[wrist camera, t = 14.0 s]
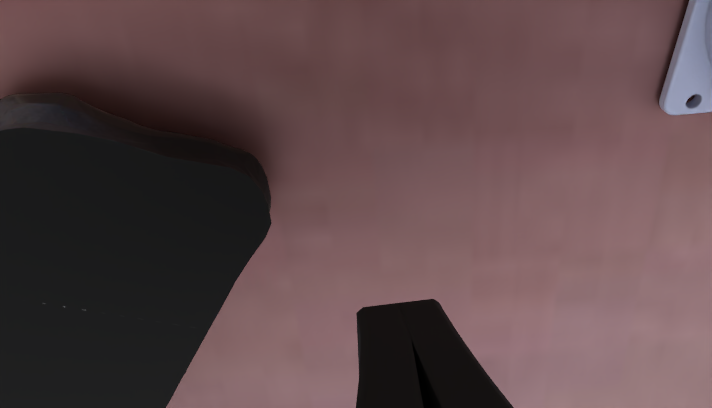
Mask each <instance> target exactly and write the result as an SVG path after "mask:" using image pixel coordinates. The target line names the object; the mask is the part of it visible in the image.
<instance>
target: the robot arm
mask: <svg viewBox="0 0 712 408" xmlns="http://www.w3.org/2000/svg"><path fill="white" fill-rule="evenodd" d="M692 95H695V96H694V98H693V99H692V100H691V101H690V102H687V100H688V98H690V97H691V96H692ZM686 102H687V103H686ZM659 105H660V107H661V109H663V110H664V111H665V112H666V113H667V114H669V115H684V114H696V113H708V112H712V0H689V3H688V6H687V10H686V13H685V16H684V20H683V23H682V26H681V30H680V33H679V36H678V40H677V43H676V46H675V50H674V53H673V56H672V59H671V63H670V66H669V69H668V73H667V76H666V79H665V83H664V86H663V89H662V93H661V96H660V100H659ZM357 333H358V357H359V385H358V394H357V403H356V408H513V406H512V405H511V404H510V403H509V401H508V400H507V399H506V398H505V396H504V395H503V394H502V392H501V391H500V390H499V389H498V387H497V386H496V385H495V384H494V382H493V381H492V380H491V379H490V377H489V376H488V375H487V373H486V372H485V371H484V369H483V368H482V366H481V365H480V364H479V362H478V361H477V360H476V358H475V357H474V355H473V354H472V353H471V351H470V350H469V348H468V347H467V346H466V344H465V343H464V341H463V340H462V338H461V337H460V335H459V334H458V332H457V331H456V329H455V328H454V326H453V325H452V323H451V322H450V320H449V318H448V317H447V315H446V314H445V312H444V310H443V309H442V307H441V305H440V303H438V302H437V301H436V300H434V299H428V300H420V301H412V302H404V303H395V304H387V305H379V306H370V307H363V308H362V309H361V310H359V311H358V312H357Z"/></svg>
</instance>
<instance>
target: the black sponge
mask: <svg viewBox="0 0 712 408" xmlns="http://www.w3.org/2000/svg"><path fill="white" fill-rule="evenodd" d="M270 208H271V195H270V190H269V185H268V180H267V177H266V175H265V172H264V170H263V168H262V166H261V164H260V163H259V161H258V160H257V159H256V158H255V157H254V156H253V155H251V154H250V153H248V152H246V151H244V150H242V149H238V148H235V147H231V146H228V145H225V144H222V143H219V142H217V141H214V140H212V139H206V138H201V137H196V136H190V135H185V134H179V133H173V132H166V131H159V130H154V129H151V128H148V127H144V126H141V125H137V124H135V123H133V122H131V121H129V120H127V119H124V118H121V117H118V116H115V115H113V114H110V113H107V112H105V111H102V110H100V109H97V108H95V107H93V106H91V105H89V104H87V103H85V102H83V101H81V100H80V99H78V98H76V97H75V96H73V95H69V94H65V93H31V94H15V95H8V96H6V97H4V98H2V99H0V408H166V406H167V404H168V403H169V401H170V399H171V397H172V396H173V394H174V392H175V390H176V388H177V386H178V384H179V382H180V381H181V379H182V377H183V375H184V374H185V372H186V370H187V368H188V366H189V365H190V363H191V361H192V359H193V357H194V356H195V354H196V352H197V350H198V348H199V346H200V345H201V343H202V341H203V339H204V337H205V336H206V334H207V332H208V330H209V328H210V327H211V325H212V323H213V321H214V320H215V318H216V316H217V314H218V313H219V311H220V309H221V307H222V305H223V303H224V302H225V300H226V298H227V296H228V294H229V292H230V290H231V289H232V287H233V285H234V283H235V281H236V280H237V278H238V277H239V275H240V274H241V272H242V270H243V269H244V267H245V266H246V264H247V263H248V261H249V260H250V258H251V257H252V255H253V254H254V252H255V251H256V250H257V248H258V247H259V246H260V244H261V243H262V242H263V240H264V239H265V237H266V235H267V232H268V230H269V228H270V225H271V218H270V213H269V212H270Z"/></svg>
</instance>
